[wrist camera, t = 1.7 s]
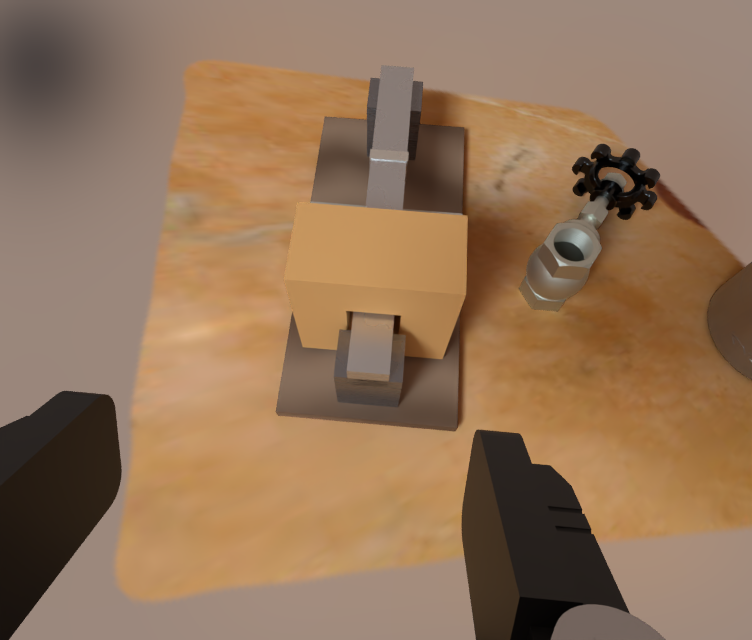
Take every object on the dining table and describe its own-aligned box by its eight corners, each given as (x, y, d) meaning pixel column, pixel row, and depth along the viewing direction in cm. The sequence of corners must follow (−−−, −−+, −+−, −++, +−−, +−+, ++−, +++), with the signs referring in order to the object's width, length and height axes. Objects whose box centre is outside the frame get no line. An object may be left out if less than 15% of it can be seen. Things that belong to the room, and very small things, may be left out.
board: (454, 431, 37) (457, 427, 36) (278, 415, 37) (275, 411, 36) (462, 135, 47) (464, 126, 46) (325, 125, 48) (324, 115, 47)
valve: (569, 335, 40) (636, 224, 44) (606, 294, 34) (679, 170, 38) (491, 288, 41) (563, 186, 45) (513, 241, 35) (594, 127, 39)
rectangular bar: (397, 407, 36) (404, 375, 30) (337, 402, 36) (332, 369, 30) (417, 132, 46) (424, 67, 40) (370, 128, 46) (370, 63, 40)
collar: (442, 359, 37) (466, 294, 28) (302, 347, 37) (283, 279, 28) (444, 294, 39) (467, 215, 30) (312, 283, 39) (297, 201, 31)
